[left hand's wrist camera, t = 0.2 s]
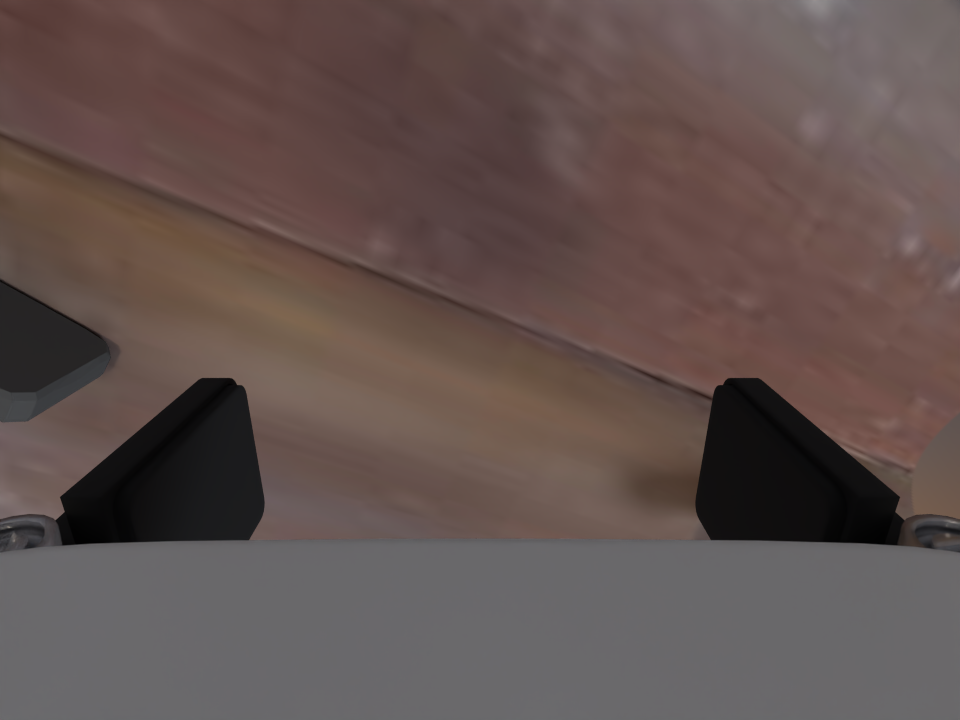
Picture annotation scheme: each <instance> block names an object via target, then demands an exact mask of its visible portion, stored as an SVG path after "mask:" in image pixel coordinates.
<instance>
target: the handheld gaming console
mask: <svg viewBox="0 0 960 720" xmlns="http://www.w3.org/2000/svg"><path fill="white" fill-rule="evenodd" d="M110 358H111V357H110V352H109V347H108V345H107V344H106V342H105V341H103V340H102V339H100V338H99V337H97V336H96V335H94V334H92V333H91V332H89V331H88V330H86V329H85V328H83V327H81V326H79V325H77V324H76V323H74V322H72V321H70V320H68V319H67V318H65V317H63V316H61V315H59V314H57V313H56V312H54V311H52V310H50V309H48V308H47V307H45V306H43V305H41V304H39V303H38V302H36V301H34V300H32V299H30V298H29V297H27V296H25V295H23V294H21V293H20V292H18V291H16V290H14V289H12V288H10V287H9V286H7V285H5V284H3V283H1V282H0V421H1V422H21V421H29V420H30V419H32V418H34V417H35V416H37V415H38V414H40V413H42V412H43V411H45V410H46V409H48V408H50V407H51V406H53V405H55V404H56V403H58V402H59V401H61V400H63V399H64V398H66V397H68V396H69V395H71V394H72V393H74V392H76V391H77V390H79V389H80V388H82V387H84V386H85V385H87V384H89V383H90V382H92V381H93V380H95V379H97V378H98V377H100V376H101V375H102V374H103V373H104V371H105V368H106V366H107V364H108V362H109V360H110Z"/></svg>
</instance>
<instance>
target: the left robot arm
mask: <svg viewBox="0 0 960 720" xmlns="http://www.w3.org/2000/svg"><path fill="white" fill-rule="evenodd" d="M60 498H61V501H62V504H63V507H64V511H65V512H64V513H63V514H62V515H61V516H60V517H59V518H58V519H57V520H54V519H53V518H51V517H48V516H45V515H37V514H27V515H19V516H12V517H8V518H4V519H0V720H960V519H956V518H952V517H948V516H941V515H933V514H923V515H915V516H912V517H909V518H907V519H906V520H903V519H902V518H901V517H900V516H899V515H898V514H897V513H896V512H895V511H896V507H897V504H898V501H899V498H900V497H899V496H898V495H897V494H896V493H894V492H893V491H892V490H891V489H890V488H889V487H887V486H886V485H885V484H884V483H883V482H881V481H880V480H879V479H878V478H877V477H876V476H874V475H873V474H872V473H871V472H870V471H868V470H867V469H866V468H865V467H864V466H863V465H861V464H860V463H859V462H858V461H857V460H855V459H854V458H853V457H852V456H851V455H850V454H848V453H847V452H846V451H845V450H844V449H842V448H841V447H840V446H839V445H838V444H837V443H835V442H834V441H833V440H832V439H831V438H829V437H828V436H827V435H826V434H825V433H824V432H822V431H821V430H820V429H819V428H818V427H816V426H815V425H814V424H813V423H812V422H811V421H809V420H808V419H807V418H806V417H805V416H803V415H802V414H801V413H800V412H799V411H798V410H796V409H795V408H794V407H793V406H792V405H790V404H789V403H788V402H787V401H786V400H785V399H783V398H782V397H781V396H780V395H779V394H777V393H776V392H775V391H774V390H773V389H771V388H770V387H769V386H768V385H767V384H766V383H764V382H763V381H762V380H761V379H759V378H728V379H727V380H726V381H725V382H724V384H723V385H718V386H717V387H716V389H715V391H714V394H713V400H712V406H711V412H710V418H709V424H708V430H707V436H706V441H705V447H704V453H703V459H702V465H701V471H700V477H699V483H698V489H697V494H696V512H697V516H698V518H699V520H700V522H701V523H702V525H703V527H704V529H705V530H706V532H707V534H708V535H709V537H710V539H711V540H626V539H322V540H249V539H250V537H251V535H252V534H253V532H254V530H255V529H256V527H257V525H258V523H259V522H260V520H261V518H262V516H263V512H264V494H263V489H262V483H261V477H260V471H259V465H258V459H257V453H256V447H255V441H254V436H253V430H252V424H251V418H250V412H249V406H248V400H247V394H246V391H245V389H244V387H243V386H242V385H237V384H236V382H235V381H234V380H233V379H232V378H201V379H199V380H198V381H197V382H196V383H194V384H193V385H192V386H191V387H190V388H189V389H187V390H186V391H185V392H184V393H183V394H181V395H180V396H179V397H178V398H177V399H175V400H174V401H173V402H172V403H171V404H170V405H168V406H167V407H166V408H165V409H164V410H162V411H161V412H160V413H159V414H158V415H157V416H155V417H154V418H153V419H152V420H151V421H149V422H148V423H147V424H146V425H145V426H144V427H142V428H141V429H140V430H139V431H138V432H136V433H135V434H134V435H133V436H132V437H131V438H129V439H128V440H127V441H126V442H125V443H123V444H122V445H121V446H120V447H119V448H118V449H116V450H115V451H114V452H113V453H112V454H110V455H109V456H108V457H107V458H106V459H105V460H103V461H102V462H101V463H100V464H99V465H97V466H96V467H95V468H94V469H93V470H92V471H90V472H89V473H88V474H87V475H86V476H84V477H83V478H82V479H81V480H80V481H79V482H77V483H76V484H75V485H74V486H73V487H71V488H70V489H69V490H68V491H67V492H66V493H64V494H63V495H62V496H61V497H60Z"/></svg>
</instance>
